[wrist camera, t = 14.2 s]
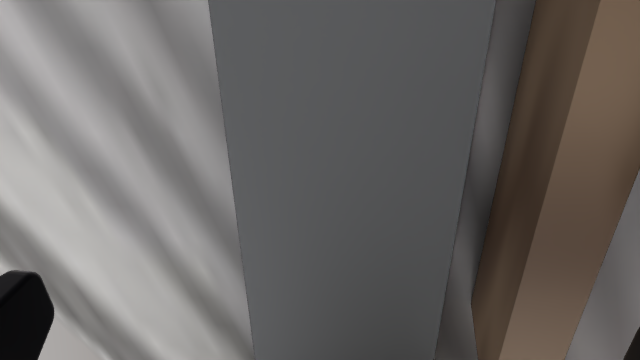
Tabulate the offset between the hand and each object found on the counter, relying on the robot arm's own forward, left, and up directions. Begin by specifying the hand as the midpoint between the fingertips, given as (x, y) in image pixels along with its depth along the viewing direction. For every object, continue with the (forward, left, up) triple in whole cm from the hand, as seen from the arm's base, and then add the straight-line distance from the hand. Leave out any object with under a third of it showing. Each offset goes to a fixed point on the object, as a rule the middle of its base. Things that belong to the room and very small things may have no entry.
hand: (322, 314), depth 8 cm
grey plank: (0, 0, -5) cm, 5 cm away
